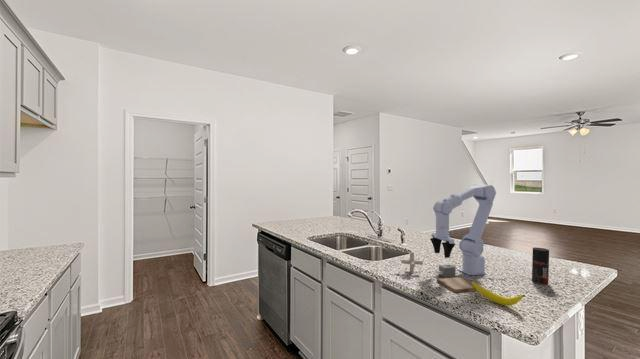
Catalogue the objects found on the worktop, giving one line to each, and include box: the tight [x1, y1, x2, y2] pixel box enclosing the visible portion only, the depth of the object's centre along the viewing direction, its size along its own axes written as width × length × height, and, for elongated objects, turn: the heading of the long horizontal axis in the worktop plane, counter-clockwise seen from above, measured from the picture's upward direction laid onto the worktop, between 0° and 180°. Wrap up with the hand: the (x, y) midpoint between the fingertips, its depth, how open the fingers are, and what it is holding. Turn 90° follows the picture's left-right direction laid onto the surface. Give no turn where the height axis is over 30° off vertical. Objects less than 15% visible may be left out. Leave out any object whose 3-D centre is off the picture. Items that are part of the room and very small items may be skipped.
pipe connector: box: [400, 251, 424, 274], centre depth 140 cm, size 10×10×10 cm
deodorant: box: [531, 246, 550, 286], centre depth 129 cm, size 6×6×15 cm
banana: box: [470, 281, 526, 307], centre depth 107 cm, size 3×19×6 cm, turn 32°
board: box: [436, 277, 478, 293], centre depth 123 cm, size 12×12×1 cm
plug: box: [435, 264, 457, 279], centre depth 136 cm, size 9×4×4 cm, turn 102°
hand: (442, 255), depth 136 cm, fingers open, 7 cm apart
